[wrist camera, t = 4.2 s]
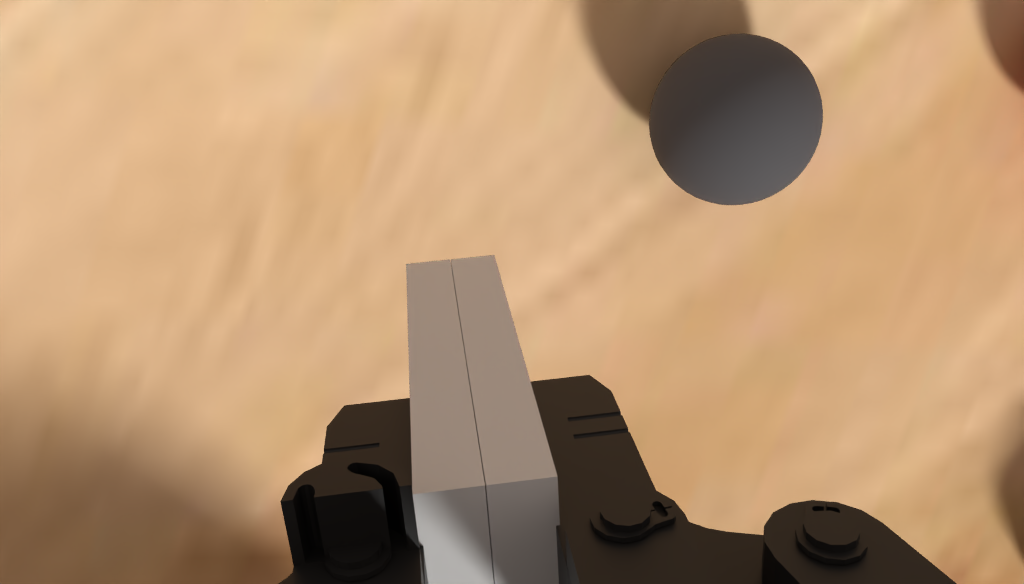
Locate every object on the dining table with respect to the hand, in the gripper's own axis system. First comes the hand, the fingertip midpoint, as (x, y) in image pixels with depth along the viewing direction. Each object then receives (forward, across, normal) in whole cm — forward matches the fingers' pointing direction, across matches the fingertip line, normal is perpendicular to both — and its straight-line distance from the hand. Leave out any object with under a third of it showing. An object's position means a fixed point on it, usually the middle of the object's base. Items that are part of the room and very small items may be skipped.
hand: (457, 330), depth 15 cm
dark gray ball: (+14, -10, 0) cm, 17 cm away
